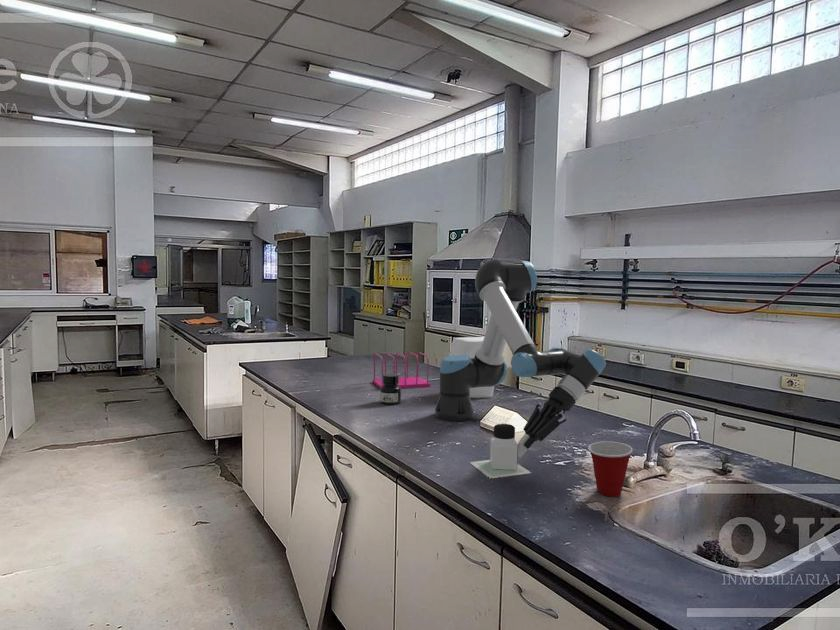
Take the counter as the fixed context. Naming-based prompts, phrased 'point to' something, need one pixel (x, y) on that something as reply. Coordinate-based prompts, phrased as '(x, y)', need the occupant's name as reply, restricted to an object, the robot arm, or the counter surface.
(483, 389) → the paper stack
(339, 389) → the counter surface
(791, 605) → the counter surface
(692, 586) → the counter surface
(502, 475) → the pad
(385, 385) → the ink bottle
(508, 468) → the medicine bottle
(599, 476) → the plastic cup
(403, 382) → the file sorter
